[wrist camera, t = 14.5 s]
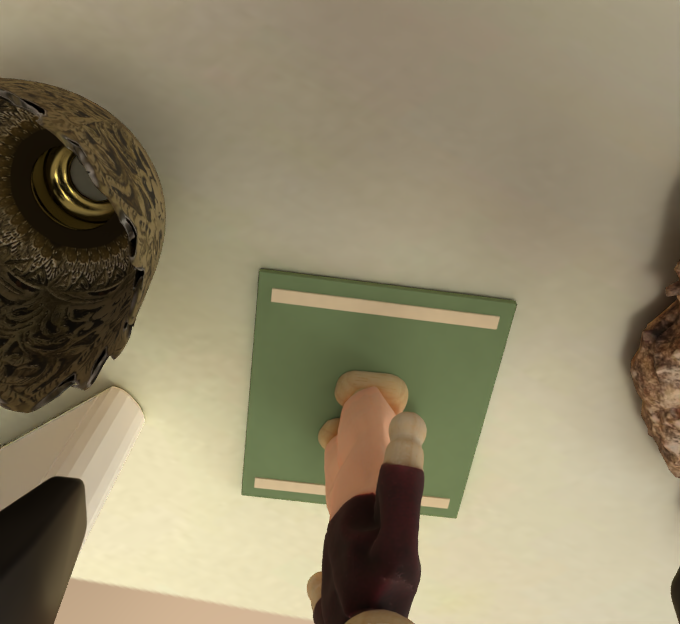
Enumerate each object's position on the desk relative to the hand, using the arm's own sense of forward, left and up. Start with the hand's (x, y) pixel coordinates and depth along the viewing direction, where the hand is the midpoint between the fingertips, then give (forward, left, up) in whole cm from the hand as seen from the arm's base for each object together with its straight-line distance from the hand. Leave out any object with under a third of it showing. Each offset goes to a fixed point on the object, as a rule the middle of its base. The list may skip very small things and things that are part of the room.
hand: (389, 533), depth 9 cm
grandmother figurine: (+1, -6, -13) cm, 14 cm away
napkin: (+1, -6, -13) cm, 15 cm away
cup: (-9, +1, -13) cm, 16 cm away
